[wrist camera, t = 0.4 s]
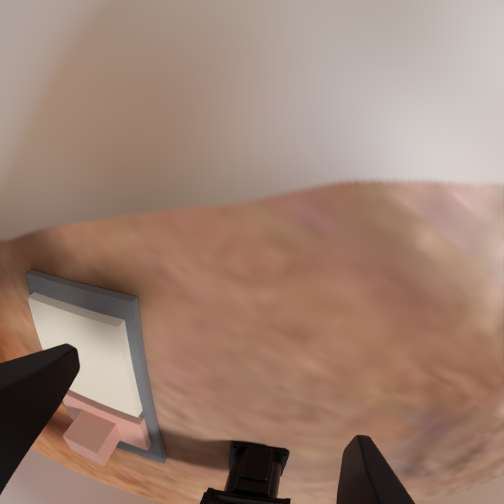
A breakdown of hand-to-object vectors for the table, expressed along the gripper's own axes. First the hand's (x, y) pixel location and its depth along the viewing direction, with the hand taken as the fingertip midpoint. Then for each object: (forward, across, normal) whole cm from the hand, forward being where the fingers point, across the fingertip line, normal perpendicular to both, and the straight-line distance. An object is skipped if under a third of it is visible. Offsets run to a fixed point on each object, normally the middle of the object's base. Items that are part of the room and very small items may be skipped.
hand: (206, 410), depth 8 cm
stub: (+13, +14, +26) cm, 32 cm away
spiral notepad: (+13, +15, +16) cm, 26 cm away
